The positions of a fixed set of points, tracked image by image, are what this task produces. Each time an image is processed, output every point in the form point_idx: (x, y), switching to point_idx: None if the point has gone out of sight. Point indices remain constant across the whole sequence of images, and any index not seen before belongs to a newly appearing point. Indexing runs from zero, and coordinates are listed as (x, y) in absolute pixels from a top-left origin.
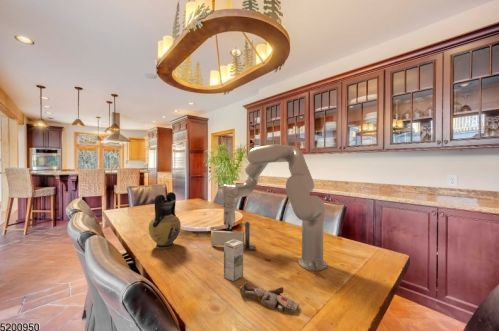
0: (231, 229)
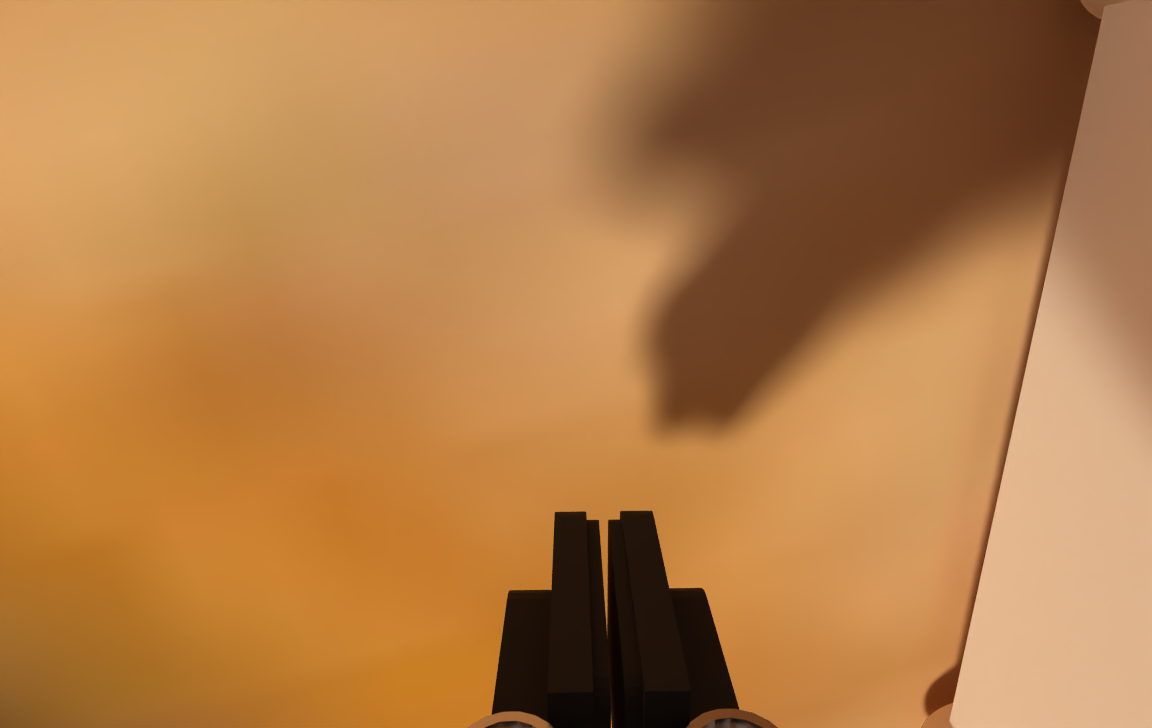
0: (675, 679)
